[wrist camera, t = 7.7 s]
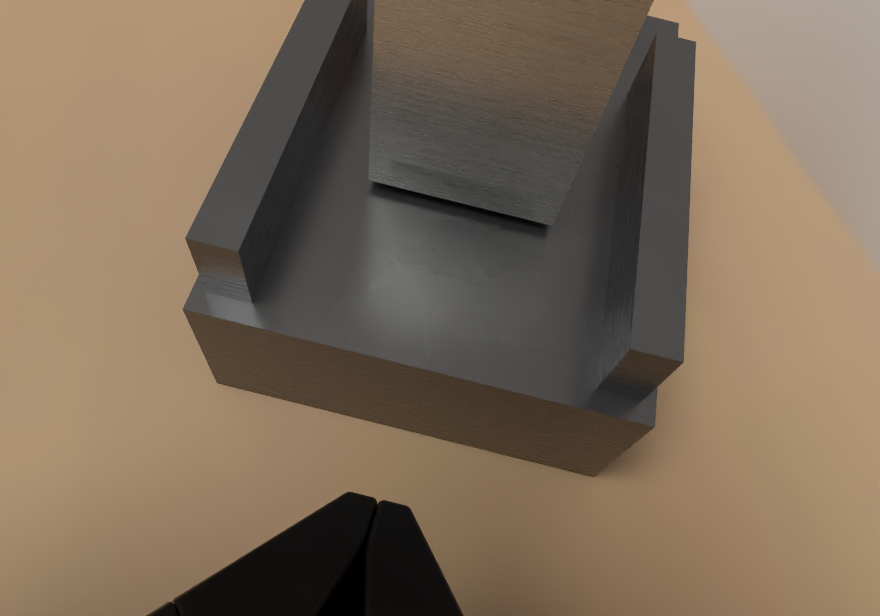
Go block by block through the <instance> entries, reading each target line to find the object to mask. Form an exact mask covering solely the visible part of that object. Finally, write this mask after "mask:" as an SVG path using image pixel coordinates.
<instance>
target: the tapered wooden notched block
mask: <svg viewBox="0 0 880 616" xmlns="http://www.w3.org/2000/svg"><path fill="white" fill-rule="evenodd" d="M653 1H654V0H375V4H374V34H373V64H372V94H371V123H370V153H369V180H370V181H374V182H378V183H382V184H386V185H390V186H394V187H398V188H402V189H406V190H410V191H414V192H418V193H422V194H426V195H430V196H434V197H438V198H442V199H447V200H451V201H455V202H459V203H463V204H467V205H471V206H475V207H479V208H483V209H487V210H491V211H495V212H499V213H503V214H507V215H511V216H515V217H519V218H523V219H527V220H531V221H535V222H539V223H543V224H547V225H551V226H553V224H554V221H555V219H556V217H557V215H558V212H559V210H560V208H561V206H562V204H563V201H564V199H565V197H566V195H567V192H568V190H569V188H570V186H571V184H572V181H573V179H574V177H575V175H576V172H577V170H578V168H579V166H580V163H581V161H582V159H583V157H584V155H585V152H586V150H587V148H588V146H589V143H590V141H591V139H592V137H593V134H594V132H595V130H596V128H597V126H598V123H599V121H600V119H601V117H602V114H603V112H604V110H605V108H606V105H607V103H608V101H609V99H610V97H611V94H612V92H613V90H614V88H615V85H616V83H617V81H618V79H619V77H620V74H621V72H622V70H623V68H624V65H625V63H626V61H627V59H628V56H629V54H630V52H631V50H632V48H633V45H634V43H635V41H636V39H637V36H638V34H639V32H640V30H641V27H642V25H643V23H644V21H645V19H646V16H647V14H648V12H649V10H650V7H651V5H652V3H653Z"/></svg>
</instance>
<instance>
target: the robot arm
mask: <svg viewBox="0 0 880 616" xmlns="http://www.w3.org/2000/svg"><path fill="white" fill-rule="evenodd" d="M146 616H464V615H463V613H462V611H461V609H460V607H459V605H458V603H457V601H456V599H455V597H454V595H453V593H452V591H451V589H450V587H449V585H448V583H447V581H446V579H445V577H444V575H443V573H442V571H441V569H440V567H439V565H438V563H437V561H436V559H435V557H434V555H433V553H432V551H431V549H430V547H429V545H428V543H427V541H426V539H425V537H424V535H423V533H422V531H421V529H420V527H419V525H418V523H417V521H416V519H415V517H414V515H413V513H412V511H411V509H410V508H409V507H408V506H405V505H401V504H397V503H393V502H389V501H385V500H382V501H380V502H379V503H378V505H377V501H376V499H375V498H373V497H369V496H365V495H361V494H357V493H353V492H347V493H345V494H343V495H341V496H340V497H338V498H337V499H335V500H333V501H332V502H330V503H328V504H327V505H325V506H324V507H322V508H320V509H319V510H317V511H315V512H314V513H312V514H311V515H309V516H307V517H306V518H304V519H302V520H301V521H299V522H298V523H296V524H294V525H293V526H291V527H289V528H288V529H286V530H285V531H283V532H281V533H280V534H278V535H277V536H275V537H273V538H272V539H270V540H268V541H267V542H265V543H264V544H262V545H260V546H259V547H257V548H255V549H254V550H252V551H251V552H249V553H247V554H246V555H244V556H242V557H241V558H239V559H238V560H236V561H234V562H233V563H231V564H230V565H228V566H226V567H225V568H223V569H221V570H220V571H218V572H217V573H215V574H213V575H212V576H210V577H208V578H207V579H205V580H204V581H202V582H200V583H199V584H197V585H195V586H194V587H192V588H191V589H189V590H187V591H186V592H184V593H183V594H181V595H179V596H178V597H176V598H175V599H174V600H173V601H172V602H168V603H166V604H164V605H163V606H161V607H159V608H158V609H156V610H154V611H153V612H151V613H150V614H148V615H146Z"/></svg>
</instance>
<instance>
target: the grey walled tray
mask: <svg viewBox="0 0 880 616" xmlns="http://www.w3.org/2000/svg"><path fill="white" fill-rule="evenodd" d="M374 4H375V0H305V1H304V3H303V5H302V7H301V9H300V11H299V13H298V15H297V17H296V19H295V21H294V23H293V25H292V27H291V29H290V31H289V33H288V35H287V37H286V39H285V41H284V43H283V45H282V47H281V49H280V51H279V53H278V55H277V57H276V59H275V61H274V63H273V65H272V67H271V69H270V71H269V73H268V75H267V77H266V79H265V81H264V83H263V85H262V87H261V89H260V91H259V93H258V95H257V97H256V99H255V101H254V103H253V105H252V107H251V109H250V111H249V113H248V115H247V117H246V119H245V121H244V122H243V124H242V126H241V128H240V130H239V132H238V134H237V136H236V138H235V140H234V142H233V144H232V146H231V148H230V150H229V152H228V154H227V156H226V158H225V160H224V162H223V164H222V166H221V168H220V170H219V172H218V174H217V176H216V178H215V180H214V182H213V184H212V186H211V188H210V190H209V192H208V194H207V196H206V198H205V200H204V202H203V204H202V206H201V208H200V210H199V212H198V214H197V216H196V218H195V220H194V222H193V224H192V226H191V228H190V230H189V232H188V234H187V236H186V238H185V239H186V241H187V244H188V247H189V249H190V252H191V254H192V257H193V260H194V262H195V265H196V267H197V270H198V273H199V276H198V278H197V280H196V282H195V284H194V286H193V288H192V291H191V293H190V295H189V297H188V299H187V301H186V303H185V305H184V307H183V311H184V313H185V315H186V317H187V320H188V322H189V324H190V326H191V328H192V330H193V332H194V335H195V337H196V339H197V341H198V343H199V345H200V347H201V350H202V352H203V354H204V356H205V358H206V360H207V363H208V365H209V367H210V369H211V371H212V373H213V375H214V378H215V380H216V382H217V383H220V384H224V385H228V386H232V387H236V388H240V389H244V390H248V391H252V392H256V393H260V394H264V395H268V396H272V397H276V398H280V399H284V400H288V401H292V402H296V403H300V404H304V405H308V406H312V407H316V408H320V409H324V410H328V411H332V412H336V413H340V414H344V415H348V416H352V417H356V418H360V419H364V420H368V421H372V422H376V423H380V424H384V425H388V426H392V427H396V428H400V429H404V430H408V431H412V432H416V433H420V434H424V435H428V436H432V437H436V438H440V439H444V440H448V441H452V442H456V443H460V444H464V445H468V446H472V447H476V448H480V449H484V450H488V451H492V452H496V453H500V454H504V455H508V456H512V457H516V458H520V459H524V460H528V461H532V462H536V463H540V464H544V465H548V466H552V467H556V468H560V469H564V470H568V471H572V472H576V473H580V474H584V475H589V476H593V477H594V476H595V475H596V474H597V473H599V472H600V471H601V470H602V469H603V468H605V467H606V466H607V465H608V464H610V463H611V462H612V461H613V460H615V459H616V458H617V457H618V456H620V455H621V454H622V453H623V452H624V451H626V450H627V449H628V448H629V447H631V446H632V445H633V444H634V443H636V442H637V441H638V440H639V439H640V438H642V437H643V436H644V435H645V434H647V433H648V432H649V431H650V430H652V429H653V428H654V427H655V415H656V398H657V387H658V386H659V385H660V384H661V383H662V382H663V381H664V380H665V379H666V378H667V377H668V376H669V375H670V374H672V373H673V372H674V371H675V370H676V369H677V368H678V367H679V366H680V365H681V364H682V363H683V362H684V338H685V312H686V286H687V260H688V233H689V207H690V181H691V155H692V129H693V103H694V77H695V51H696V42H694V41H690V40H686V39H682V38H678V25H679V23H675V22H671V21H667V20H663V19H659V18H655V17H651V16H646V19H645V21H644V23H643V25H642V27H641V30H640V32H639V34H638V36H637V39H636V41H635V43H634V45H633V48H632V50H631V52H630V54H629V56H628V59H627V61H626V63H625V65H624V68H623V70H622V72H621V74H620V77H619V79H618V81H617V83H616V85H615V88H614V90H613V92H612V94H611V97H610V99H609V101H608V103H607V105H606V108H605V110H604V112H603V114H602V117H601V119H600V121H599V123H598V126H597V128H596V130H595V132H594V134H593V137H592V139H591V141H590V143H589V146H588V148H587V150H586V152H585V155H584V157H583V159H582V161H581V163H580V166H579V168H578V170H577V172H576V175H575V177H574V179H573V181H572V184H571V186H570V188H569V190H568V192H567V195H566V197H565V199H564V201H563V204H562V206H561V208H560V210H559V212H558V215H557V217H556V219H555V221H554V224H553V226H551V225H547V224H543V223H539V222H535V221H531V220H527V219H523V218H519V217H515V216H511V215H507V214H503V213H499V212H495V211H491V210H487V209H483V208H479V207H475V206H471V205H467V204H463V203H459V202H455V201H451V200H447V199H442V198H438V197H434V196H430V195H426V194H422V193H418V192H414V191H410V190H406V189H402V188H398V187H394V186H390V185H386V184H382V183H378V182H374V181H370V180H369V153H370V123H371V94H372V64H373V34H374Z"/></svg>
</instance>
